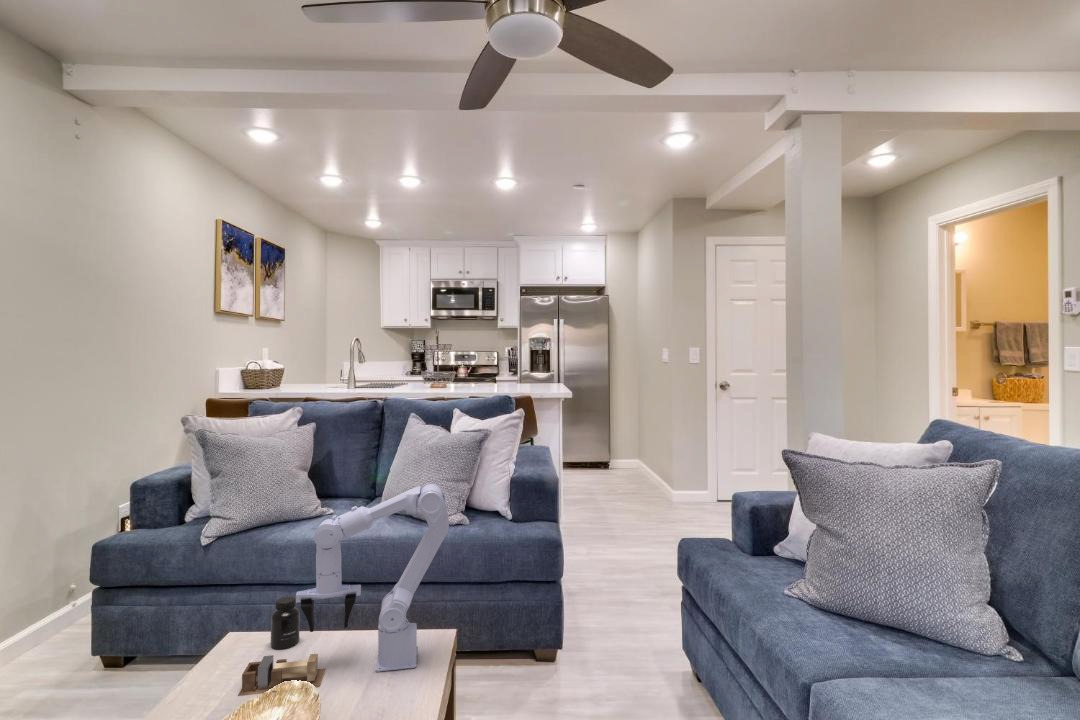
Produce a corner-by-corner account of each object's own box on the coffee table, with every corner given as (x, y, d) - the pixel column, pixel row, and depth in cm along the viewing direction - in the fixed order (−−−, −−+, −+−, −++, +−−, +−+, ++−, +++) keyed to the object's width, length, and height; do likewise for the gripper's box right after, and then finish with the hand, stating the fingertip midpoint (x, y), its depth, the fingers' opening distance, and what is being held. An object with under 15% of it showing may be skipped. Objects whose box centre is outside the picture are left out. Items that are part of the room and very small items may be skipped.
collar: (273, 676, 130) (273, 655, 130) (267, 689, 125) (267, 666, 125) (264, 677, 130) (264, 656, 130) (257, 690, 125) (257, 667, 125)
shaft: (317, 672, 131) (317, 653, 132) (314, 680, 128) (314, 661, 128) (276, 676, 130) (276, 657, 130) (272, 685, 126) (272, 665, 126)
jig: (326, 671, 134) (326, 652, 134) (319, 690, 126) (319, 669, 126) (248, 679, 131) (248, 659, 131) (237, 699, 123) (237, 678, 123)
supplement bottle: (288, 654, 142) (288, 606, 142) (264, 651, 143) (264, 604, 144) (305, 641, 149) (305, 595, 149) (282, 639, 150) (282, 593, 150)
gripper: (361, 562, 141) (361, 616, 141) (298, 568, 137) (299, 624, 137) (360, 572, 134) (360, 629, 134) (294, 579, 130) (294, 638, 130)
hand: (329, 627), depth 135 cm, fingers open, 7 cm apart
